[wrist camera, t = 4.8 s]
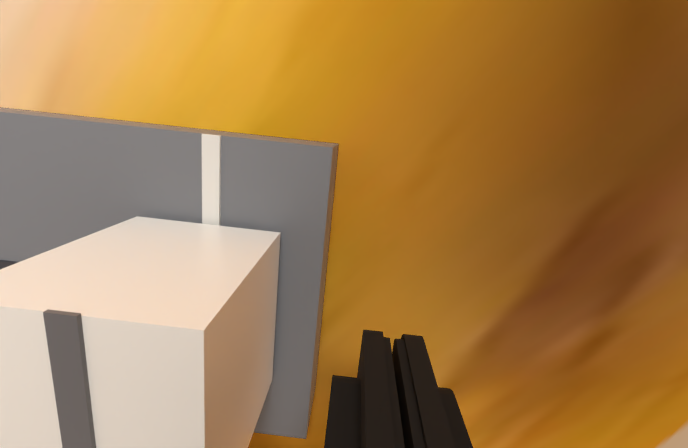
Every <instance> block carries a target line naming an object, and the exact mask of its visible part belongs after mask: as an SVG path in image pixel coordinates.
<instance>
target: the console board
mask: <svg viewBox="0 0 688 448" xmlns="http://www.w3.org/2000/svg"><path fill="white" fill-rule="evenodd" d="M338 146H339V144H336V143H326V142H317V141H308V140H298V139H289V138H280V137H271V136H261V135H252V134H243V133H233V132H224V131H215V130H205V129H196V128H187V127H177V126H168V125H159V124H150V123H140V122H131V121H122V120H112V119H103V118H94V117H84V116H75V115H66V114H56V113H47V112H38V111H29V110H19V109H10V108H1V107H0V269H3V268H5V267H8V266H10V265H13V264H15V263H18V262H21V261H23V260H26V259H28V258H31V257H34V256H36V255H39V254H41V253H44V252H46V251H49V250H52V249H54V248H57V247H59V246H62V245H64V244H67V243H70V242H72V241H75V240H77V239H80V238H82V237H85V236H88V235H90V234H93V233H95V232H98V231H100V230H103V229H106V228H108V227H111V226H113V225H116V224H118V223H121V222H124V221H126V220H129V219H131V218H134V217H136V216H139V217H148V218H157V219H165V220H174V221H183V222H192V223H201V224H210V225H219V226H228V227H236V228H245V229H254V230H263V231H272V232H280V250H279V268H278V286H277V304H276V322H275V340H274V358H273V375H272V382H271V384H270V387H269V390H268V393H267V396H266V399H265V401H264V404H263V407H262V410H261V413H260V415H259V418H258V421H257V424H256V427H255V429H254V432H255V433H263V434H271V435H279V436H287V437H295V438H303V439H306V437H307V431H308V426H309V420H310V414H311V409H312V403H313V398H314V392H315V385H316V375H317V364H318V354H319V344H320V333H321V323H322V312H323V302H324V292H325V281H326V271H327V260H328V250H329V239H330V229H331V219H332V208H333V198H334V187H335V177H336V167H337V156H338Z"/></svg>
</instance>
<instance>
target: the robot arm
mask: <svg viewBox="0 0 688 448" xmlns="http://www.w3.org/2000/svg"><path fill="white" fill-rule="evenodd" d="M324 448H473V446H472V444H471V441H470V438H469V435H468V432H467V429H466V427H465V424H464V421H463V418H462V415H461V412H460V409H459V407H458V404H457V401H456V398H455V395H454V393H453V391H452V390H451V389H448V388H440V387H438V386H437V383H436V379H435V376H434V373H433V369H432V366H431V363H430V359H429V356H428V352H427V349H426V346H425V342H424V339H423V337H422V336H415V335H406V334H403V335H402V337H401V339H395V340H394V345H393V352H392V350H391V343H390V338H386V337H383V332H379V331H370V330H363V336H362V344H361V352H360V360H359V367H358V375H357V378H353V377H344V376H335V375H333V377H332V385H331V394H330V402H329V411H328V420H327V428H326V437H325V445H324Z"/></svg>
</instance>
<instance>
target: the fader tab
mask: <svg viewBox="0 0 688 448" xmlns="http://www.w3.org/2000/svg"><path fill="white" fill-rule="evenodd" d="M279 250H280V232H272V231H263V230H254V229H245V228H236V227H228V226H219V225H210V224H201V223H192V222H183V221H174V220H165V219H157V218H148V217H139V216H136V217H134V218H131V219H129V220H126V221H124V222H121V223H118V224H116V225H113V226H111V227H108V228H106V229H103V230H100V231H98V232H95V233H93V234H90V235H88V236H85V237H82V238H80V239H77V240H75V241H72V242H70V243H67V244H64V245H62V246H59V247H57V248H54V249H52V250H49V251H46V252H44V253H41V254H39V255H36V256H34V257H31V258H28V259H26V260H23V261H21V262H18V263H15V264H13V265H10V266H8V267H5V268H3V269H0V448H248V446H249V443H250V441H251V438H252V435H253V432H254V429H255V427H256V424H257V421H258V418H259V415H260V413H261V410H262V407H263V404H264V401H265V399H266V396H267V393H268V390H269V387H270V384H271V382H272V375H273V358H274V340H275V322H276V304H277V286H278V268H279Z"/></svg>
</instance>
